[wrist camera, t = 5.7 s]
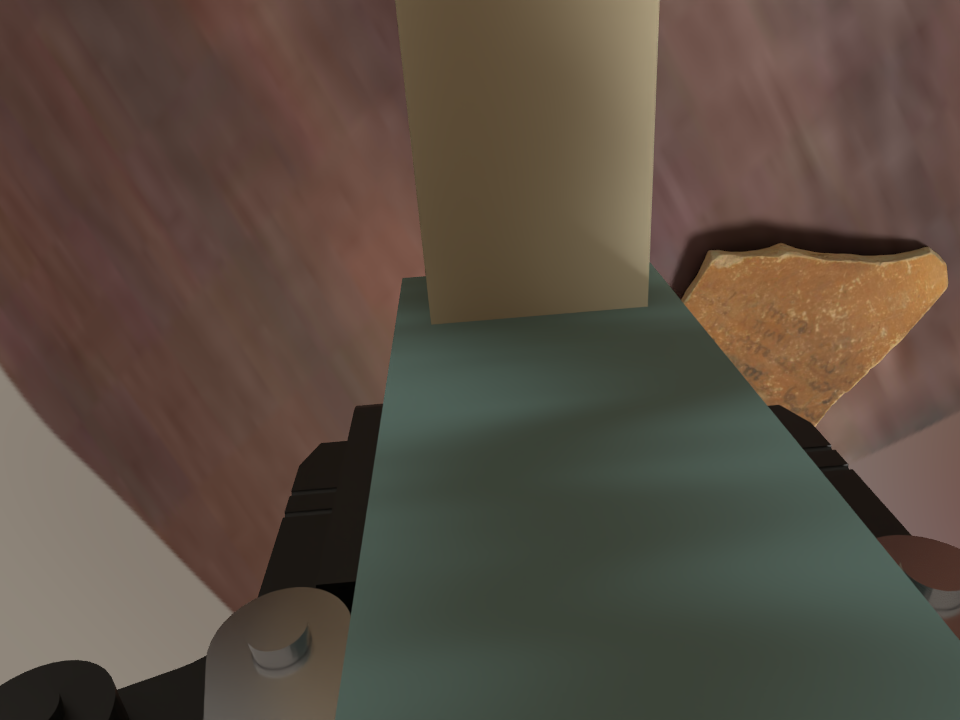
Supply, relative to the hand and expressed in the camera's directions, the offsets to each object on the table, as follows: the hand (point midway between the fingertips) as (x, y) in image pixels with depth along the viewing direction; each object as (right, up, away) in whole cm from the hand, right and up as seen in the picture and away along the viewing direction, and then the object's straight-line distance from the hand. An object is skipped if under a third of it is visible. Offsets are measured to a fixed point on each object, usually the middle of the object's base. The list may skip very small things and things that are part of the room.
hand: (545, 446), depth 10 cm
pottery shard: (+12, +4, +21) cm, 24 cm away
